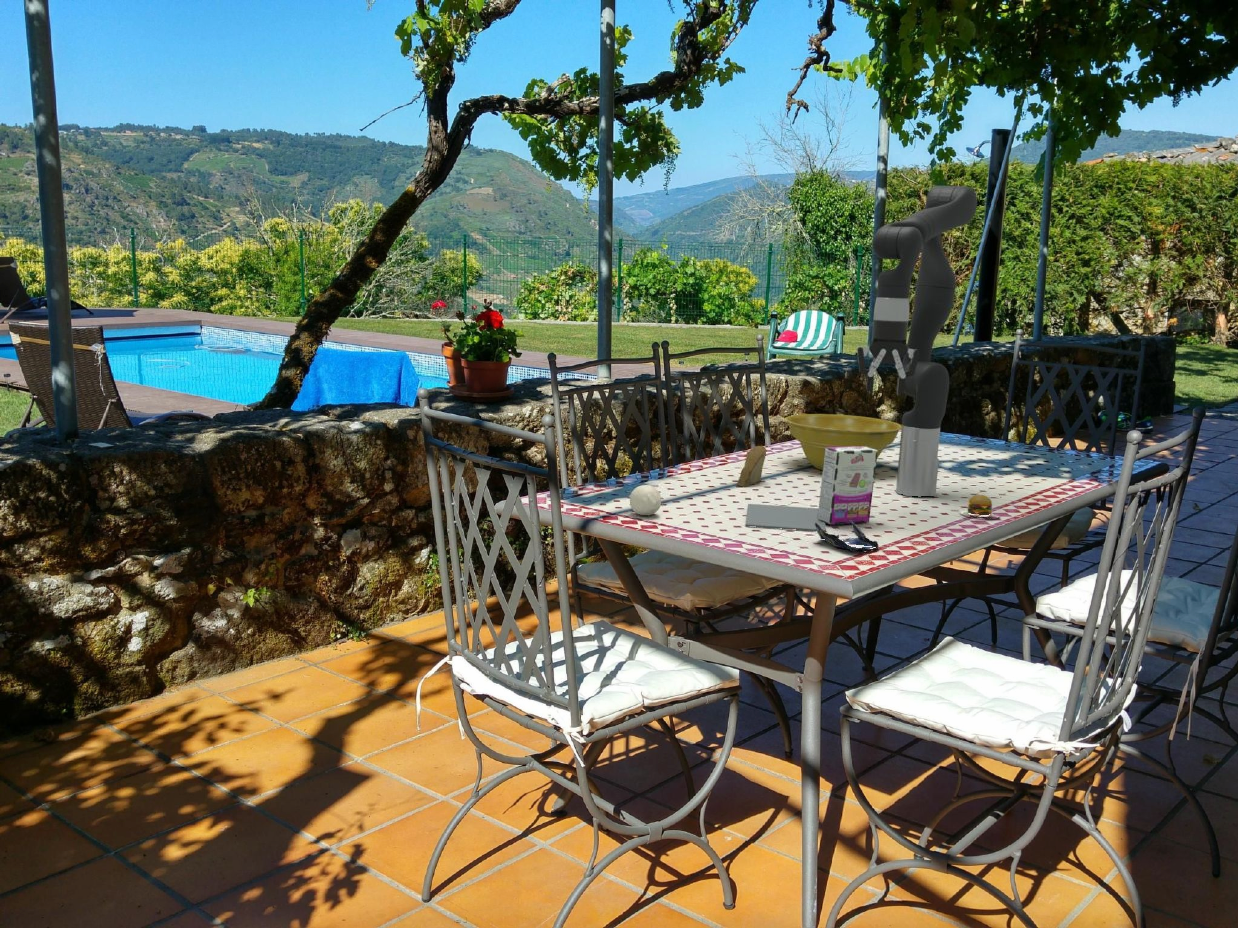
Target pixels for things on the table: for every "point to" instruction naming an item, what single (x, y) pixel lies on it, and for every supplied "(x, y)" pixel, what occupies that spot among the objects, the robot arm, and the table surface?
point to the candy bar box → (847, 484)
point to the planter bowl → (839, 433)
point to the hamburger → (980, 505)
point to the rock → (752, 466)
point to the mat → (783, 517)
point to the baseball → (645, 500)
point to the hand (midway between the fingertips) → (884, 393)
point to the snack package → (848, 539)
